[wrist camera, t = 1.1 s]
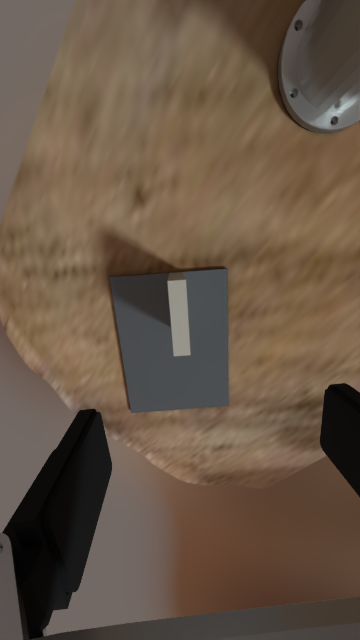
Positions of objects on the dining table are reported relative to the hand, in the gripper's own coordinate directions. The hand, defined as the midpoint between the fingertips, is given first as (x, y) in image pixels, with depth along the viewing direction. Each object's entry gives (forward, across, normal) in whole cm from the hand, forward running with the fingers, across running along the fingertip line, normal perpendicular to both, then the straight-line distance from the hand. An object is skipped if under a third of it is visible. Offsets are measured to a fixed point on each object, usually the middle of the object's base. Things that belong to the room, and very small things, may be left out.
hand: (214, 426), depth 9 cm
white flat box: (+23, +1, -1) cm, 23 cm away
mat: (+24, +2, +6) cm, 25 cm away
